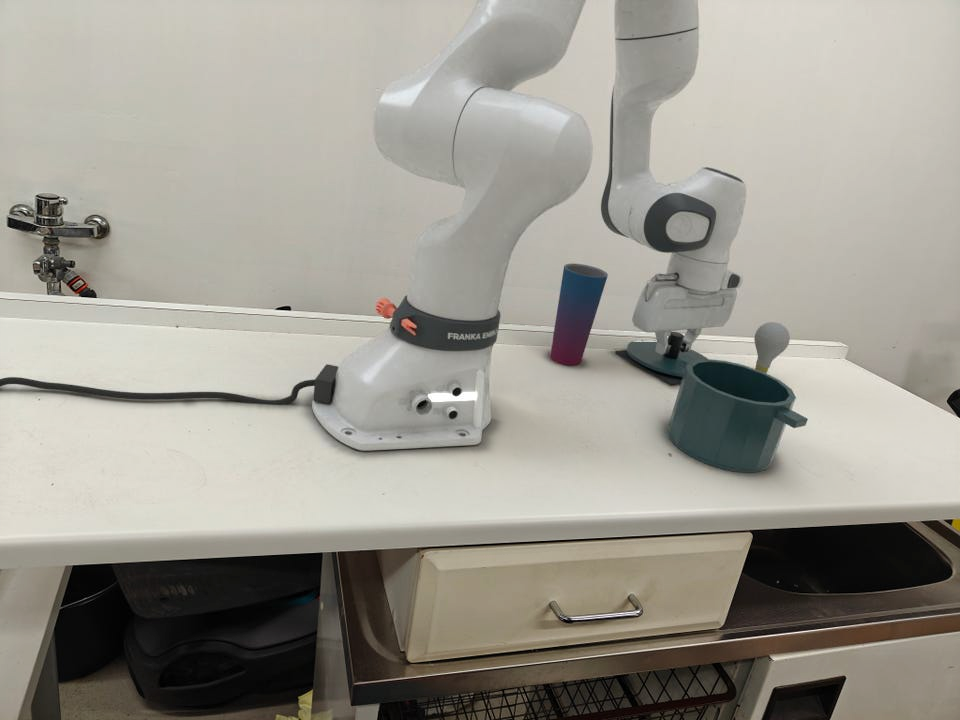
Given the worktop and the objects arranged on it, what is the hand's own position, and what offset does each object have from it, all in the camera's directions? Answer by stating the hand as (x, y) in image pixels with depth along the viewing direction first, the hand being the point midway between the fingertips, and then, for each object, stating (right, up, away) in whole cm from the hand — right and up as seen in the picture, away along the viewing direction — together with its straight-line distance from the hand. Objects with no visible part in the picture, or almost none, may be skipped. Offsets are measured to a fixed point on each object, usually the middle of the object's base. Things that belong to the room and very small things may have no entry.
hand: (672, 352), depth 121 cm
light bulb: (+15, -4, +3) cm, 16 cm away
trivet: (0, -2, +1) cm, 2 cm away
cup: (-18, -1, -5) cm, 19 cm away
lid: (0, -1, +1) cm, 1 cm away
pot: (0, -13, -25) cm, 28 cm away
